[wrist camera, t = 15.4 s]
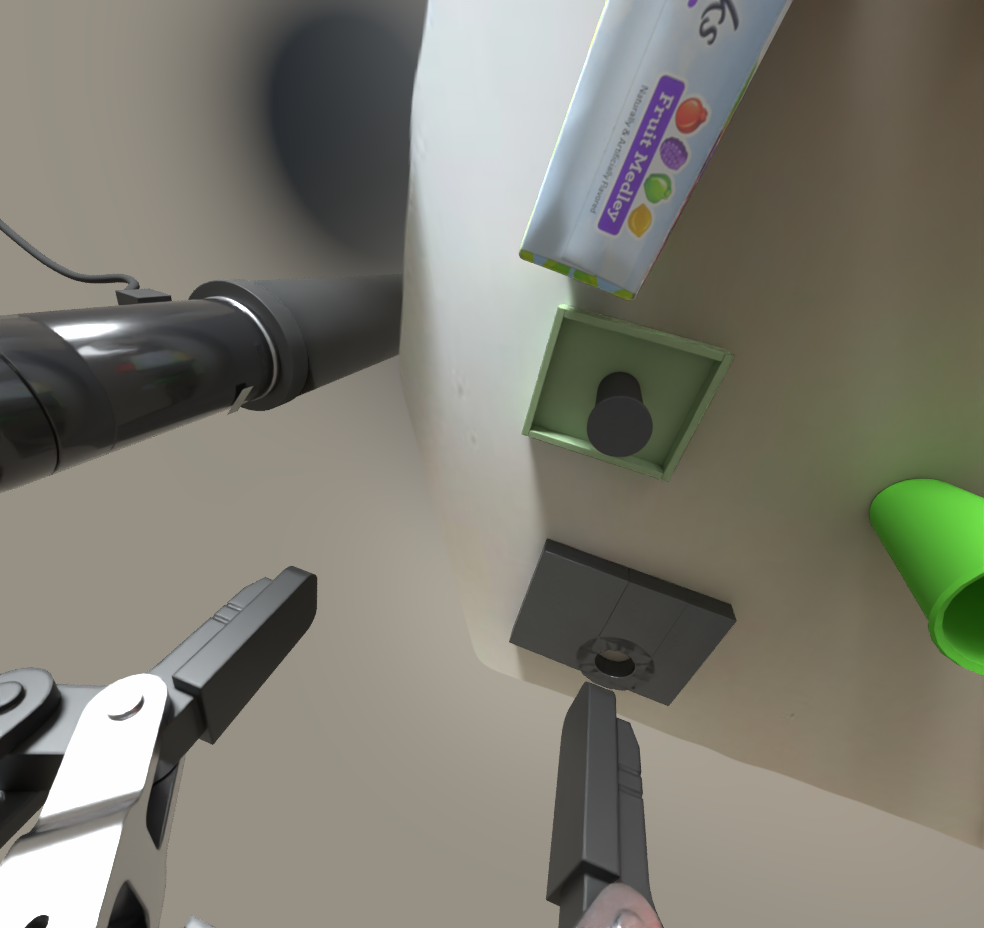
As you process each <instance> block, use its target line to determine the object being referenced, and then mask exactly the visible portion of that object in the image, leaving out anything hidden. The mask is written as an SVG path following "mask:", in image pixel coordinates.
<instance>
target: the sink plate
mask: <svg viewBox="0 0 984 928" xmlns="http://www.w3.org/2000/svg"><path fill="white" fill-rule="evenodd" d="M735 622H736V618H735V615H734V612H733V609H732V606H731V604H728V603H725V602H722V601H719V600H717V599H714V598H711V597H708V596H706V595H703V594H700V593H697V592H694V591H692V590H689V589H685V588H683V587H681V586H678V585H675V584H672V583H669V582H667V581H664V580H661V579H658V578H656V577H653V576H650V575H647V574H644V573H642V572H639V571H636V570H633V569H630V568H627V567H625V566H622V565H619V564H616V563H614V562H611V561H608V560H605V559H602V558H600V557H597V556H594V555H591V554H588V553H586V552H583V551H580V550H577V549H575V548H572V547H569V546H566V545H563V544H561V543H558V542H555V541H552V540H550V539H547V540H546V542H545V545H544V548H543V550H542V553H541V555H540V558H539V561H538V563H537V566H536V569H535V571H534V574H533V577H532V579H531V582H530V585H529V587H528V590H527V593H526V595H525V598H524V601H523V603H522V606H521V608H520V611H519V614H518V616H517V619H516V622H515V624H514V627H513V630H512V634H511V637H510V641H509V642H510V643H512V644H515V645H517V646H520V647H522V648H525V649H527V650H530V651H532V652H535V653H537V654H540V655H542V656H545V657H547V658H550V659H552V660H555V661H557V662H560V663H562V664H565V665H567V666H570V667H572V668H575V669H577V670H580V671H581V672H582V673H583V675H584V676H586V677H587V678H588V679H590V680H591V681H592V682H594V683H596V684H598V685H601V686H603V687H606V688H609V689H615V690H622V691H623V690H630V691H632V692H634V693H637V694H639V695H642V696H644V697H647V698H649V699H652V700H654V701H657V702H659V703H662V704H664V705H667V706H669V705H670V704H671V703H672V701H673V700H674V699H675V698H676V696H677V695H678V694H679V693H680V691H681V690H682V689H683V688H684V686H685V685H686V684H687V682H688V681H689V680H690V679H691V677H692V676H693V675H694V674H695V672H696V671H697V670H698V669H699V667H700V666H701V665H702V664H703V662H704V661H705V660H706V659H707V657H708V656H709V655H710V654H711V652H712V651H713V650H714V649H715V647H716V646H717V645H718V644H719V642H720V641H721V640H722V639H723V637H724V636H725V635H726V634H727V632H728V631H729V630H730V629H731V627H732V626H733V625H734V624H735ZM606 650H614V651H619V652H622V653H624V654H626V655H628V656H629V657H630V658H631V659H629V660H627V661H623V662H614V661H610V660H607V659H605V658H603V657H602V656H601V655H599V653H600V652H602V651H606Z"/></svg>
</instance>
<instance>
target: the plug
mask: <svg viewBox="0 0 984 928" xmlns="http://www.w3.org/2000/svg"><path fill="white" fill-rule="evenodd" d="M652 431H653V422H652V418H651V415H650V412H649V410H648V409H647V408H646V406H645V405H644V404H643V399H642V394H641V389H640V385H639V382H638V381H637V379H636V378H635V377H634V376H632V375H631V374H629V373H625V372H615V373H611V374H609V375H607V376H606V377H605V378H604V379H603V380H602V381H601V382H600V384H599V386H598V389H597V396H596V402H595V407H594V408H593V410H592V411H591V413H590V415H589V418H588V421H587V435H588V438H589V440H590V442H591V444H592V445H593V446H594V447H595V448H596V449H597V450H598V451H599V452H601V453H603V454H605V455H608V456H611V457H626V456H630V455H633V454H635V453H637V452H638V451H640V450H641V449H642V448H644V447H645V446H646V444H647V443H648V442H649V440H650V438H651V435H652Z"/></svg>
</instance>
